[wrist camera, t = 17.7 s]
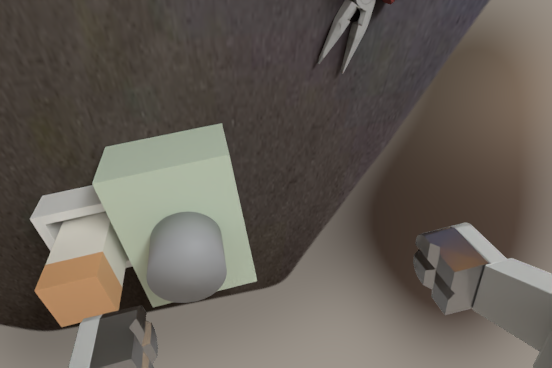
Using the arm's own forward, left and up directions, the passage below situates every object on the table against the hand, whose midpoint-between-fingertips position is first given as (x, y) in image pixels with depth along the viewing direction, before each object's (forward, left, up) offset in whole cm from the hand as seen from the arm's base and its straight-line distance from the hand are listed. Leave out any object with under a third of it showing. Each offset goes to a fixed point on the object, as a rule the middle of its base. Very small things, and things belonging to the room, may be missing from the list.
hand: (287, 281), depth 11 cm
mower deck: (-1, -19, -29) cm, 35 cm away
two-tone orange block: (-6, -22, -29) cm, 37 cm away
